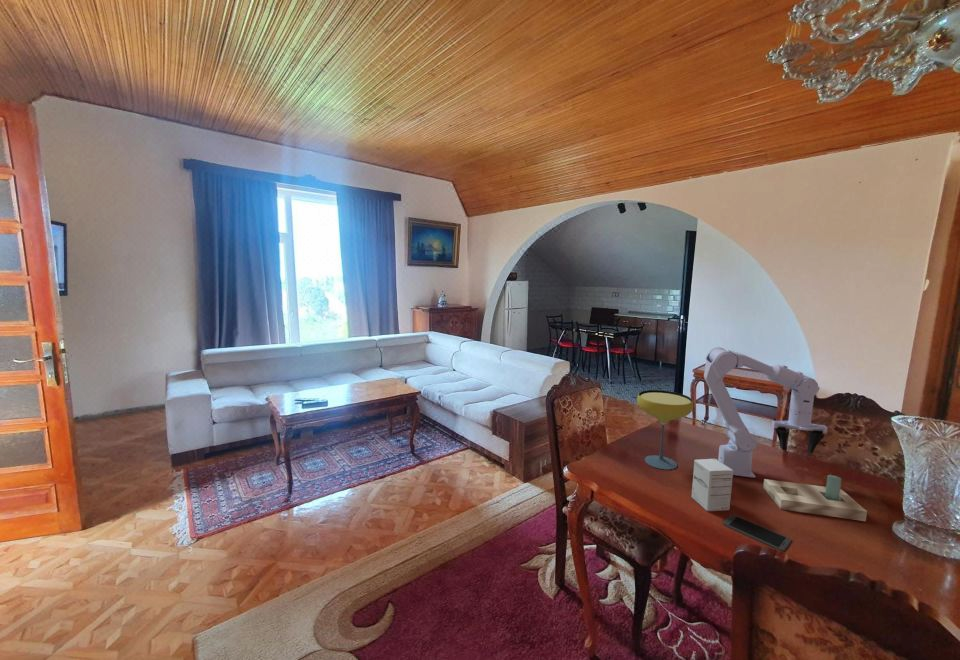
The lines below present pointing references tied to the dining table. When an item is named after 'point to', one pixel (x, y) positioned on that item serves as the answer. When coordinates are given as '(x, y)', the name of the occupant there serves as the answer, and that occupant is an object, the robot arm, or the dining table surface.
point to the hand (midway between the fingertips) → (796, 450)
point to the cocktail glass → (664, 417)
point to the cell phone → (757, 532)
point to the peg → (833, 488)
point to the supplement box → (712, 484)
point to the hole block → (813, 500)
